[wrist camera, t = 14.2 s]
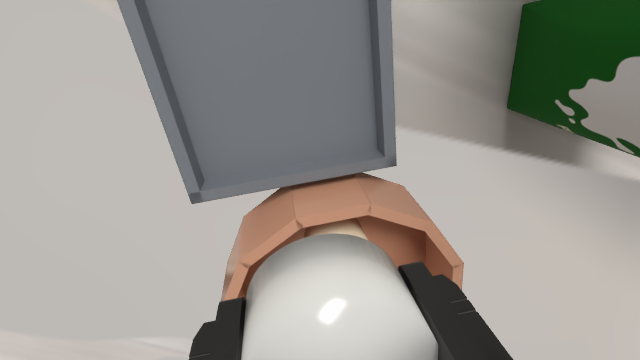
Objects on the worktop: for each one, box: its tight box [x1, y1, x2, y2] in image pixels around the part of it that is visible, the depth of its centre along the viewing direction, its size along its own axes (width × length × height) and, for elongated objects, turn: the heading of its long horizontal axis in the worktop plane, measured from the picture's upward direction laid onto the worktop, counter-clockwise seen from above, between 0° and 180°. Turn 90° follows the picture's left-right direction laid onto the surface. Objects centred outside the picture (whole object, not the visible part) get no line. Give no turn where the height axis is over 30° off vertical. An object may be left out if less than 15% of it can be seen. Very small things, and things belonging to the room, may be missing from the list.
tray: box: [117, 0, 396, 204], centre depth 20 cm, size 16×14×2 cm
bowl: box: [221, 172, 464, 301], centre depth 27 cm, size 18×18×6 cm
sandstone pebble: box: [304, 218, 368, 240], centre depth 26 cm, size 5×5×3 cm
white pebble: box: [241, 233, 438, 360], centre depth 9 cm, size 5×5×3 cm
